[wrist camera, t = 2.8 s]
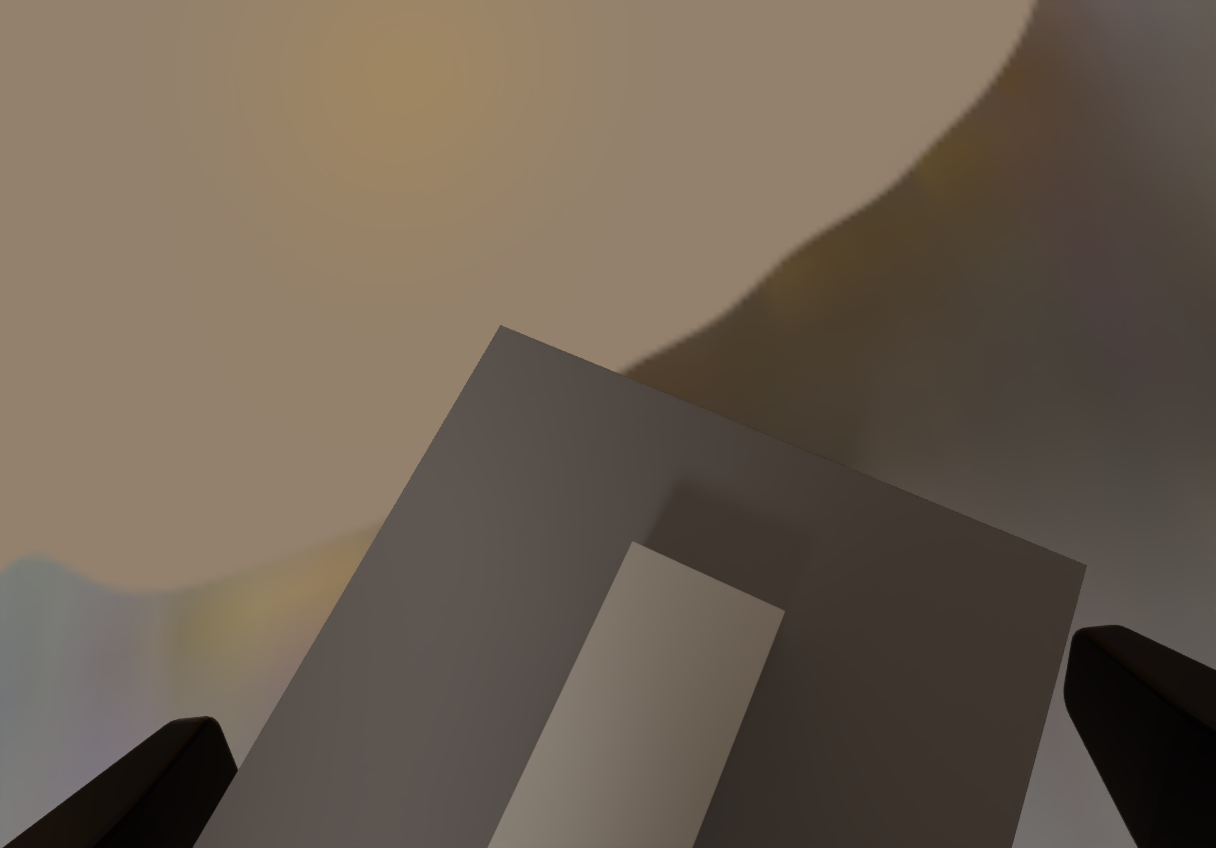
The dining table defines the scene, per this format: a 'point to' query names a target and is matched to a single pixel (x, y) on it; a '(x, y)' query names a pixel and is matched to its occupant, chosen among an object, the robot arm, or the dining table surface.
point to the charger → (657, 645)
